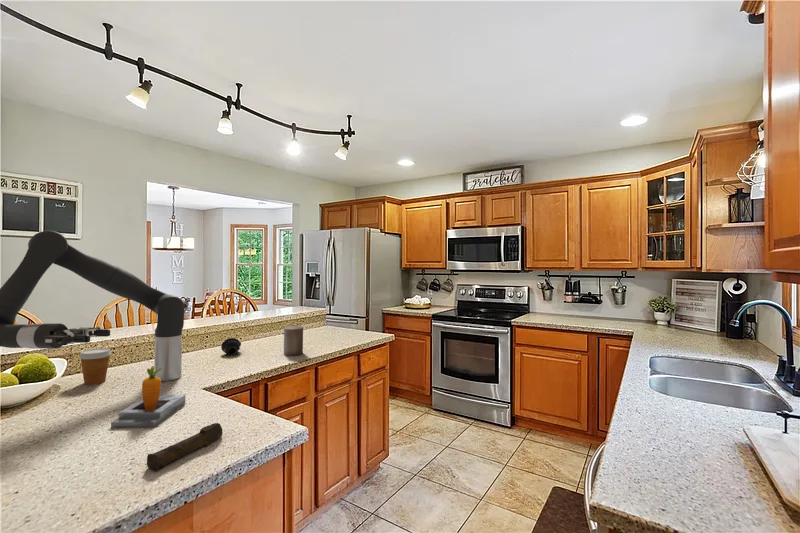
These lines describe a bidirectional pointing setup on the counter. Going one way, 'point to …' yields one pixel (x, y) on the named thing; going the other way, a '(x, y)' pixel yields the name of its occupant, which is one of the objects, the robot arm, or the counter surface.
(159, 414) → the shallow gray tray
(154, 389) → the carrot
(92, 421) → the counter surface
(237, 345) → the black round flared piece
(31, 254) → the robot arm
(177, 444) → the dark brown stick
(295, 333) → the pillar candle
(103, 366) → the disposable coffee cup
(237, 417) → the counter surface
